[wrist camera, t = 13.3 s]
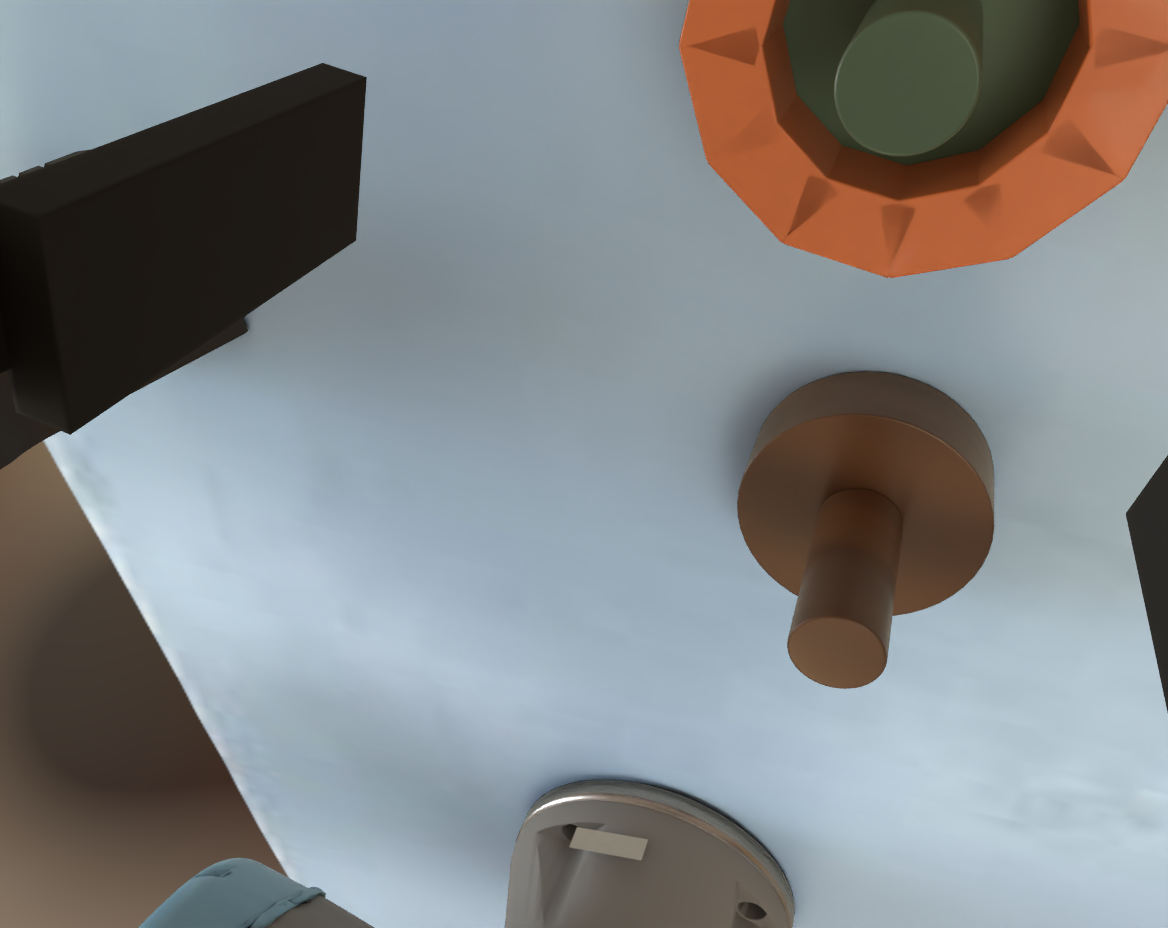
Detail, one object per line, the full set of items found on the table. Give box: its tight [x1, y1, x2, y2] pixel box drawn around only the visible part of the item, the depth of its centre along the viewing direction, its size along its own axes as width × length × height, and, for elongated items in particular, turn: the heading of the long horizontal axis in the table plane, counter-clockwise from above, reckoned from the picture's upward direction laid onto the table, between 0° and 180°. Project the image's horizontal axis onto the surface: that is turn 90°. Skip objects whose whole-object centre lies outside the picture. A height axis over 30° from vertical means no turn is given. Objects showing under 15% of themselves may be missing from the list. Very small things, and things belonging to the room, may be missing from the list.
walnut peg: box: [737, 371, 994, 689], centre depth 32 cm, size 8×8×10 cm
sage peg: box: [783, 0, 1079, 165], centre depth 23 cm, size 8×8×10 cm
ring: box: [679, 0, 1168, 278], centre depth 23 cm, size 11×11×3 cm
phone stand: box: [0, 318, 248, 469], centre depth 37 cm, size 9×6×12 cm, turn 105°
